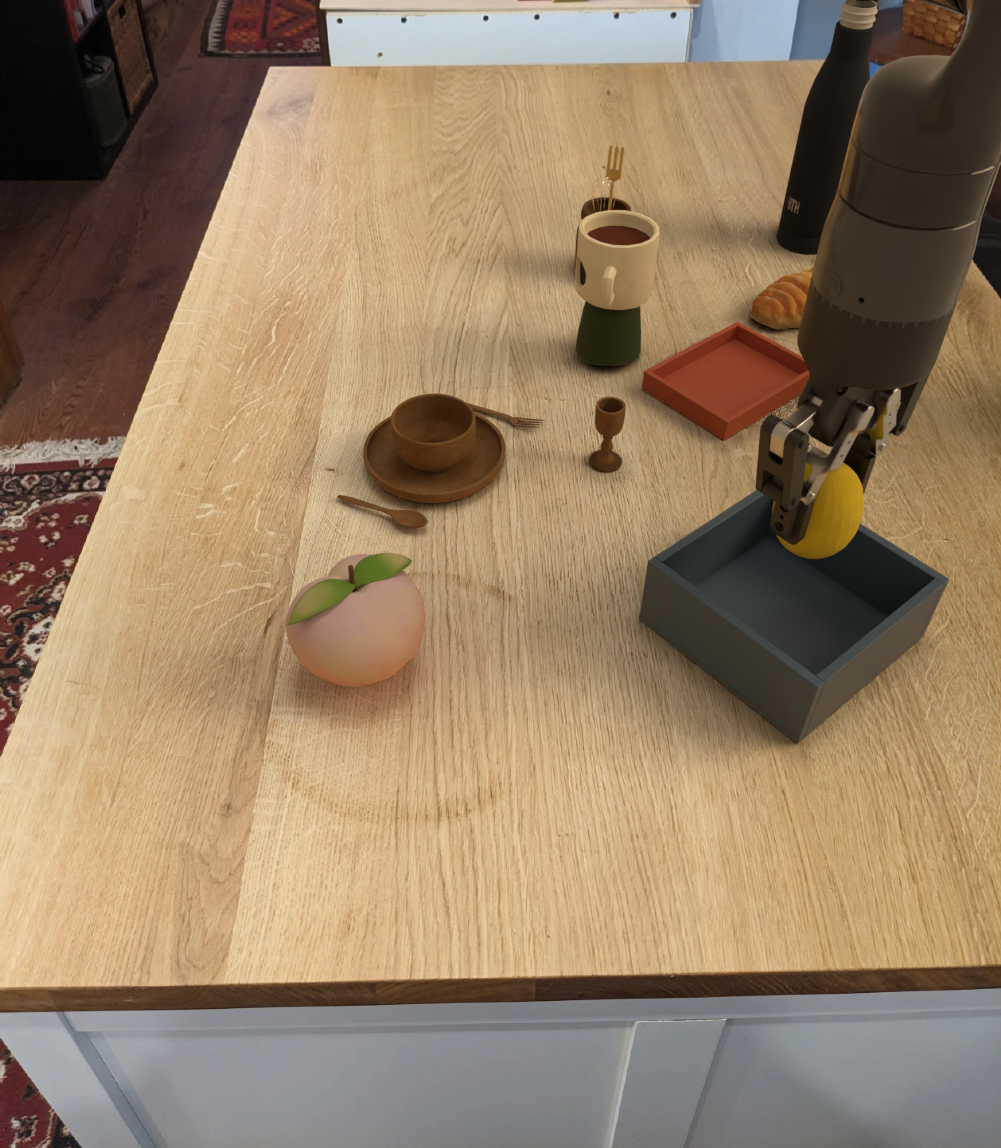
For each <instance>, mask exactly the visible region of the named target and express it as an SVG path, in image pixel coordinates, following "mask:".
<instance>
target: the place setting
mask: <svg viewBox="0 0 1001 1148" xmlns="http://www.w3.org/2000/svg"><path fill="white" fill-rule="evenodd" d="M626 408H627V405H626V402H625V401H624V400H622V398H620V397H616V396H604V397H600V398H599V399H598V400H597V401H596V403H595V408H594V409H595V410H594V426H595V430H596V431H597V433H598V434H599V435H601V436H602V441H601V443H600V449H599V450H595V451H593V452H591V454H590V455H589V457H588V463H589V465H590V467H591V468H592V469H594V470H595V471H598V472H602V473H611V472H612V473H613V472H615V471H617V470H618V469H619V468H620V467H621V466H622V464H623V459H622V457H621V455H620V454H619V453H618V452H616V451H614V450H613V449H614V444H613V438H614V437H616V436H618V435H619V434H620V433H621V431H622V430H623V428H624V424H625V419H626ZM393 409H394V410H393V411H392V413H391V415H390V416H387V417H386V418H384V419H383V420H382V421H380V422H379V423H377V424H376V425H375V426H374V427H373V428H372V430H371V431H369V433H368V435H367V436H366V437H365V441H364V444H363V449H362V457H363V461H364V466H365V469H366V470H367V473H368V475H369V476H370V477H371V479H372V480H373V481H374V482H375V483H376V484H377V485H378V487H380V488H382V489H383V490H384V491H386V492H388V493H389V494H391V495H393V496H396V497H397V498H401V499H403V500H407V501H411V502H416V503H425V504H441V503H448V502H454V501H458V500H462V499H464V498H468V497H471V496H473V495H475V494H477V493H479V492H480V491H482V490H483V489H485V488H486V487H487V486H489V485H490V484H491V483H492V482H494V480H495V479H496V478H497V476H498V475H499V474H500V472H501V470H502V468H503V466H504V463H505V459H506V449H507V447H506V446H507V445H506V441H505V438H504V436H503V434H502V432H501V430H500V429H499V428H498V427H497V426H496V425H495V423H493V422H492V421H491V420H490V419H488V418H486V417H485V416H483V415H481V414H479V413H477V412H475V411H478V412H482V413H485V414H489V415H492V416H497V417H500V418H503V419H505V420H508V421H509V423H510V425H512V426H513V427H518V428H529V429H530V428H532V429H538V428H540V426H541V424H543V423H544V422H545V419H539V418H528V417H527V418H526V417H521V416H512V415H510V414H507V413H504V412H501V411H497V410H493V409H490V408H487V407H484V406H479V405H477V404H473V403H469V402H467V401H464V400H463V399H461V398H459V397H456V396H454V395H450V394H445V393H435V392H434V393H432V392H431V393H424V394H423V393H422V394H419V395H415V396H412V397H409V398H406V400H404V401H402V402H400V404H398V405H397V406H395V408H393ZM474 410H475V411H474ZM336 498H337V499H339V500H341V501H343V502H346V503H349V504H353V505H356V506H359V507H363V508H367V509H371V510H375V511H376V512H377V511H378V512H380V513H384V514H386V515H388V516H390V518H391V519H392V521H394V522H395V524H398V525H400V526H402V527H406V528H413V529H417V528H424V527H425V526H427V524H428V523H429V520H428V518H427V517H426V516H425V515H424V514H423V513H421V512H420V511H418V510H414V509H403V508H402V509H393V508H388V507H385V506H382V505H378V504H375V503H371V502H369V501H366V500H362V499H359V498H356V497H353V496H348V495H343V494H338V495H337V496H336Z"/></svg>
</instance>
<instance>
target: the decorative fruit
mask: <svg viewBox="0 0 1001 1148" xmlns="http://www.w3.org/2000/svg"><path fill="white" fill-rule="evenodd" d="M412 562H413V560H412V559H411V558H410V557H407V556H406V555H403V554H400V553H396V552H395V553H394V552H380V553H375V554H370V553H358V554H353V555H348V556H346V557H344V558H342V559H340V560H338V561H337V563H336V564H334V565H333V567H332V568H331V569H330V571H329V572H328V574H327V575H326V576H325V577H321V578H318V579H315V580H312V581H310V582H308V584H306V585H305V586H303V587H302V588H301V589H300V590H299V592H298V593H297V594H296V596H295V597H294V598H293V600H292V601H291V603H290V605H289V607H288V610H287V612H286V615H285V616H286V617H285V633H286V638H287V642H288V644H289V647H290V649H291V651H292V654H293V655H294V657H295V658H296V659H297V661H298V662H299V663H300V664H301V665H302V666H303V667H304V668H305V669H306V670H308V671H309V672H310V673H311V674H313V675H314V676H315V677H317V678H320V679H322V680H324V681H327V682H329V683H332V684H335V685H339V686H344V687H363V686H369V685H373V684H376V683H380V682H383V681H385V680H387V679H389V678H391V677H392V676H393V675H395V674H397V673H398V672H399V671H400V670H402V669H403V668H404V667H405V666H406V665H407V664H408V663H409V662H410V661H411V660H412V658H413V657H414V656H415V654H416V653H417V650H418V649H419V647H420V644H421V642H422V638H423V635H424V631H425V626H426V607H425V602H424V599H423V595H422V593H421V591H420V589H419V587H418V586H417V585H416V584H415V582H414V581H413V580H412V578H411V577H410V576H409V574H407V572H406V571H405V569H407V568H408V567H409V566H410V565H411V564H412Z"/></svg>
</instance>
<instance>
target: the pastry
mask: <svg viewBox="0 0 1001 1148" xmlns="http://www.w3.org/2000/svg"><path fill="white" fill-rule="evenodd" d="M813 268H814V266H812V267H810V268H809V269H805V270H804V271H800V272H796V273H791V274H786V275H783V276H780V277H779V278H778V279H777V280H775V281H774V282H773V283H771V284H769V285H768V286H767V287H766V288H765V289H764V290H762V291H761V293H759V294H758V295H757V297H755V298H754V299H753V301H752V302H751V310H750V314H749V317H750V319H753V320H754V321H756V323H759V324H761V325H764V326H765V327H768V328H771V329H775V330H776V331H778V330H782V331H783V330H784V331H785V330H788V329H799V327H800V323H801V319H802V315H803V311H804V307H805V302H806V298H807V294H808V289H809V285H810V281H811V277H812V273H813Z"/></svg>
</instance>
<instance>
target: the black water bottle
mask: <svg viewBox="0 0 1001 1148" xmlns="http://www.w3.org/2000/svg"><path fill="white" fill-rule="evenodd" d="M841 11H842V13H841V14H840V15H839V19H840V20H838V21H837V22H836V23H835V28H834V30H833V31H834V32H833V35H832V40H831V45H830V50H829V53H828V54H827V56H826V57H825V59H824V61H823V62H822V65H821V67H820V68H819V70H818V72H817V74H816V76H815V78H814V79H813V82H812V84H811V87H810V89H809V92H808V94H807V97H806V99H805V102H804V106H803V110H802V116H801V120H800V124H799V128H798V129H799V130H798V134H797V138H796V144H795V149H794V153H793V157H792V162H791V167H790V171H789V176H788V180H787V185H786V190H785V193H784V194H785V195H784V199H783V204H782V209H781V213H780V218H779V223H778V227H777V232H776V240H777V242H778V244H779V245H780V246H782V247H783V248H785V249H787V250H789V251H791V252H794V253H798V254H806V255H817V252H818V247H819V243H820V239H821V235H822V232H823V228H824V225H825V222H826V219H827V217H828V214H829V211H830V209H831V207H832V204H833V202H834V199H835V196H836V193H837V189H838V186H839V181H840V177H841V173H842V169H843V165H844V161H845V157H846V153H847V148H848V144H849V140H850V136H851V133H852V128H853V124H854V121H855V117H856V113H857V110H858V106H859V103H860V99H861V97H862V94H863V91H864V89H865V86H866V85H867V83H868V81H869V80H870V78H871V72H870V59H869V57H870V52H871V48H872V45H873V40H874V37H875V33H876V24H874V23H875V22H876V15H877V14H878V3H877V2H876V1H875V0H845V1H844V4H843V5H842V6H841Z"/></svg>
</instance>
